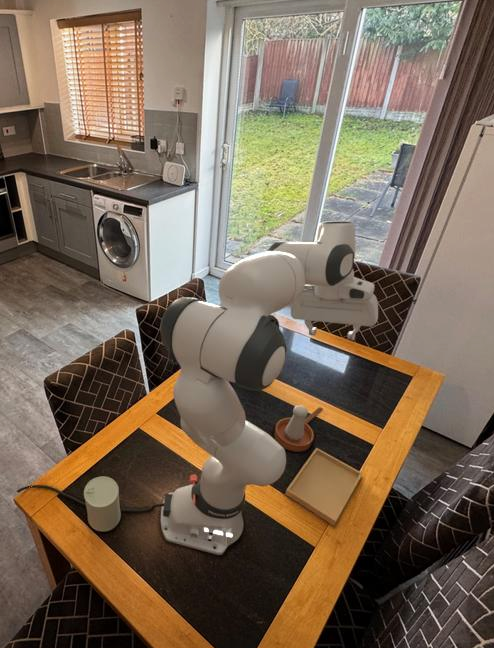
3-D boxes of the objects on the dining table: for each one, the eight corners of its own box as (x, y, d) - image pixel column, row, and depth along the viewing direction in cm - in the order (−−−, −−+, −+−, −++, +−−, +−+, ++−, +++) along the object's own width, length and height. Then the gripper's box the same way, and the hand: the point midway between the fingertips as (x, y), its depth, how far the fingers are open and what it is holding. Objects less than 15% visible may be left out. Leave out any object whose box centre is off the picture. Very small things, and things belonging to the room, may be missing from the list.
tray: (333, 526, 109) (336, 521, 107) (284, 494, 117) (286, 489, 115) (360, 478, 121) (362, 473, 119) (314, 452, 129) (316, 447, 127)
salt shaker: (302, 445, 131) (312, 417, 123) (284, 442, 132) (292, 414, 124) (300, 431, 135) (309, 403, 128) (283, 428, 136) (290, 401, 129)
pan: (277, 450, 129) (279, 444, 128) (271, 422, 139) (273, 416, 137) (315, 452, 128) (317, 446, 127) (306, 424, 138) (308, 418, 136)
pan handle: (305, 426, 135) (305, 424, 134) (301, 423, 136) (302, 422, 135) (322, 410, 141) (323, 408, 140) (318, 408, 142) (319, 406, 141)
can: (90, 500, 116) (86, 474, 109) (122, 500, 116) (120, 475, 109) (85, 531, 108) (80, 506, 101) (119, 532, 108) (117, 506, 101)
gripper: (286, 288, 104) (287, 336, 109) (377, 293, 92) (372, 347, 97) (294, 280, 108) (294, 327, 114) (382, 284, 96) (377, 336, 102)
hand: (331, 336), depth 105 cm, fingers open, 8 cm apart
